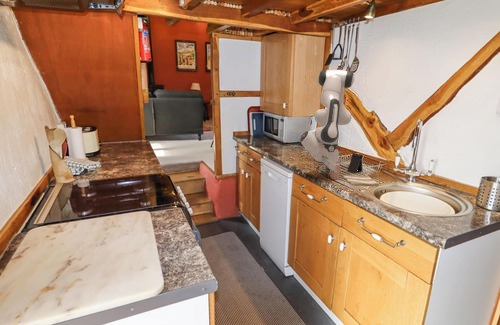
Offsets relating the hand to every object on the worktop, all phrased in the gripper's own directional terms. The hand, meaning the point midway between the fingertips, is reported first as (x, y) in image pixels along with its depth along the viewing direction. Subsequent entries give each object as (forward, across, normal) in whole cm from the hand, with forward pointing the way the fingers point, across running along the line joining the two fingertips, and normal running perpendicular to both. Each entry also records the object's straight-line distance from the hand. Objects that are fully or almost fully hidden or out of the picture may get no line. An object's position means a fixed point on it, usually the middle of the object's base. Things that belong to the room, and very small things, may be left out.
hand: (334, 170), depth 172 cm
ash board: (+14, -5, -7) cm, 16 cm away
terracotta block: (+4, 0, +3) cm, 5 cm away
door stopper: (+17, +16, -10) cm, 26 cm away
